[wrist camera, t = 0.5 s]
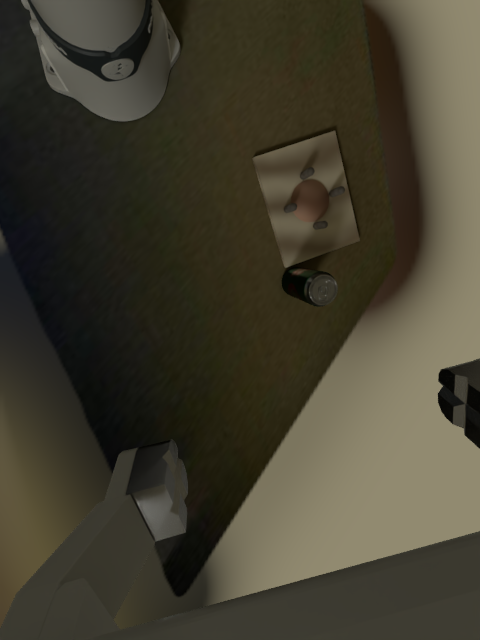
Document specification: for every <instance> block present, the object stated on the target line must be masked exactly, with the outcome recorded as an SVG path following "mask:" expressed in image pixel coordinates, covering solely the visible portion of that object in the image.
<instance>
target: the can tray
mask: <svg viewBox="0 0 480 640" xmlns="http://www.w3.org/2000/svg"><path fill="white" fill-rule="evenodd" d="M253 162H254V166H255V169H256V173H257V176H258V179H259V183H260V186H261V190H262V193H263V196H264V200H265V203H266V206H267V210H268V213H269V217H270V220H271V223H272V227H273V230H274V234H275V237H276V240H277V244H278V247H279V250H280V254H281V257H282V261H283V264H284V267H286V268H287V267H289V266H292V265H295V264H297V263H300V262H303V261H306V260H308V259H311V258H314V257H316V256H319V255H322V254H325V253H327V252H330V251H333V250H336V249H338V248H341V247H344V246H346V245H349V244H352V243H355V242H357V241H360V239H359V234H358V230H357V226H356V221H355V217H354V212H353V208H352V203H351V199H350V194H349V190H348V185H347V181H346V177H345V172H344V168H343V163H342V159H341V154H340V150H339V145H338V141H337V136H336V132H335V131H332V132H329V133H326V134H323V135H320V136H317V137H314V138H311V139H308V140H305V141H302V142H299V143H296V144H293V145H290V146H287V147H284V148H281V149H278V150H275V151H271V152H268V153H265V154H262V155H259V156H256V157H254V158H253Z"/></svg>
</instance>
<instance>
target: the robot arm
mask: <svg viewBox="0 0 480 640" xmlns="http://www.w3.org/2000/svg"><path fill="white" fill-rule="evenodd" d="M21 1H22V3H23V5H24V7H25V8H26V9H28V10H30V14H31V18H32V20H30V25H31V28H32V30H33V32H34V34H35V35H36V38H37V42H38V47H39V51H40V55H41V59H42V63H43V67H44V71H45V75H46V79H47V81H48V83H49V85H50V87H51V88H52V89H53V90H55V91H57V92H59V93H61V94H64V95H67V96H70V97H73V98H75V99H76V100H78V101H79V102H80V103H81V104H83V105H84V106H85V107H86V108H88V109H89V110H90V111H92V112H93V113H95V114H97V115H99V116H101V117H103V118H106V119H110V120H114V121H131V120H135V119H138V118H141V117H143V116H145V115H147V114H148V113H150V112H151V111H152V110H153V109H154V108H155V107H156V106H157V105H158V103H159V102H160V100H161V99H162V97H163V95H164V93H165V90H166V86H167V82H168V77H169V72H170V69H171V68H172V66H173V65H174V63H175V62H176V60H177V59H178V57H179V55H180V51H181V49H180V43H179V40H178V38H177V37H176V35H175V33H174V31H173V29H172V27H171V25H170V23H169V21H168V19H167V17H166V15H165V13H164V11H163V9H162V7H161V5H160V3H159V1H158V0H21ZM168 37H169V38H170V39H169V38H168ZM52 69H53V70H54V72H52ZM438 380H439V382H440V383H441V384H442V385H443V387H442V388H441V390H440V391H439V393H438V403H439V406H440V408H441V411H442V413H443V414H444V415H445V417H446V418H447V419H448V420H449V421H450V422H451V423H452V424H454V425H457V426H459V427H462V428H464V433H465V436H466V437H467V438H468V439H470V440H471V441H472V442H473V443H474V444H475V445H476V446H477V447H478V448H480V359H476V360H474V361H471V362H467V363H463V364H459V365H456V366H452V367H449V368H445V369H441V371H440V373H439V379H438ZM177 453H178V449H177V447H176V444H175V442H174V441H173V440H168V441H163V442H159V443H155V444H151V445H147V446H142V447H139V448H135V449H131V450H127V451H123V452H121V453H120V454H119V456H118V459H117V462H116V465H115V468H114V472H113V475H112V478H111V481H110V484H109V488H108V491H107V494H106V497H105V500H104V502H100V503H98V504H97V505H96V506H95V508H94V509H93V510H92V511H91V512H90V513H89V514H88V515H87V516H86V517H85V519H84V520H83V521H82V522H81V523H80V524H79V525H78V526H77V527H76V529H75V530H74V531H73V532H72V533H71V534H70V535H69V536H68V537H67V538H66V539H65V541H64V542H63V543H62V544H61V545H60V546H59V547H58V549H57V550H56V551H55V552H54V553H53V554H52V555H51V556H50V557H49V558H48V560H46V562H45V563H44V564H43V565H42V566H41V567H40V568H39V569H38V570H37V571H36V573H35V574H34V575H33V576H32V577H31V578H30V579H29V580H28V581H27V583H26V584H25V585H24V586H23V587H22V588H21V589H20V591H18V592H17V594H16V596H15V598H14V600H13V602H12V604H11V607H10V609H9V611H8V613H7V615H6V617H5V619H4V622H3V624H2V626H1V628H0V640H480V531H479V532H475V533H472V534H468V535H465V536H461V537H458V538H454V539H450V540H446V541H443V542H439V543H436V544H432V545H428V546H425V547H421V548H418V549H414V550H410V551H407V552H403V553H400V554H396V555H392V556H388V557H385V558H381V559H377V560H374V561H370V562H366V563H363V564H359V565H355V566H352V567H348V568H344V569H341V570H337V571H334V572H330V573H326V574H323V575H319V576H315V577H311V578H308V579H304V580H300V581H297V582H293V583H290V584H286V585H282V586H279V587H275V588H271V589H268V590H264V591H260V592H257V593H253V594H249V595H246V596H242V597H239V598H235V599H231V600H228V601H224V602H220V603H217V604H213V605H210V606H206V607H202V608H199V609H195V610H191V611H188V612H184V613H180V614H177V615H173V616H169V617H166V618H162V619H158V620H155V621H151V622H147V623H144V624H140V625H136V626H133V627H129V628H126V629H122V630H120V629H119V627H118V626H117V624H116V623H115V622H114V620H113V619H114V618H115V616H116V614H117V612H118V610H119V609H120V607H121V605H122V603H123V601H124V600H125V598H126V596H127V594H128V592H129V590H130V589H131V587H132V585H133V583H134V581H135V579H136V577H137V576H138V574H139V572H140V570H141V569H142V567H143V565H144V563H145V561H146V559H147V557H148V556H149V554H150V552H151V550H152V548H153V547H154V545H155V541H159V540H162V539H165V538H168V537H172V536H175V535H178V534H182V533H185V532H186V518H187V508H186V506H185V503H184V499H185V498H186V496H187V495H188V483H187V475H186V471H185V467H184V464H183V461H182V460H180V459H178V458H177Z"/></svg>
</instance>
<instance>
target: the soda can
mask: <svg viewBox="0 0 480 640" xmlns="http://www.w3.org/2000/svg"><path fill="white" fill-rule="evenodd" d="M282 287H283V290H284V291H285V292H286V293H287V294H288V295H290V296H293V297H295V298H297V299H299V300H302V301H304V302H306V303H309V304H311V305H313V306H319V307H320V306H324V305H327V304H329V303H330V302H332V301H333V300H334V298H335V297H336V295H337V291H338V287H337V283H336V281H335V279H334V278H333V276H332V275H331V274H329V273H327V272H323V271H317V270H311V269H305V268H299V267H294V268H291V269H289V270H287V271H286V272H285V274H284V275H283V278H282Z"/></svg>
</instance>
